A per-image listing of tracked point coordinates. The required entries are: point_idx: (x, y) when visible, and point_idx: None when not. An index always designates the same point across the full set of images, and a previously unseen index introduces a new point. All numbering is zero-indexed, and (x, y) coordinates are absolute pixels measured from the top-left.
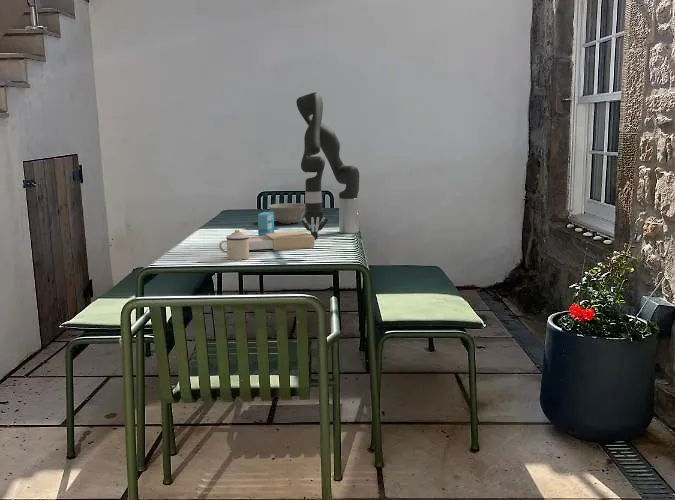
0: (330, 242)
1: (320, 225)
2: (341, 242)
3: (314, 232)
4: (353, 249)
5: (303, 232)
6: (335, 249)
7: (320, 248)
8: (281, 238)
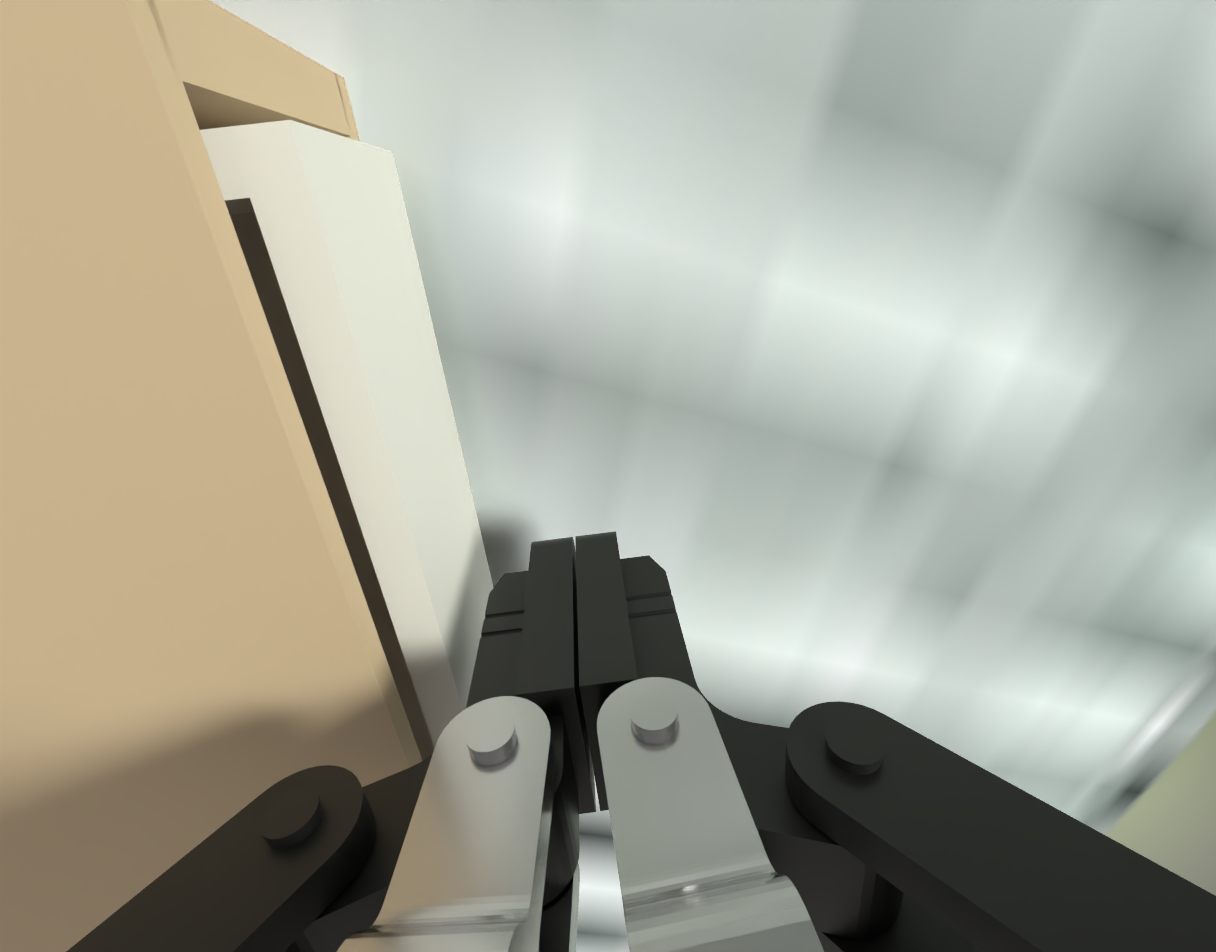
0: (993, 348)
1: (1006, 922)
2: (1193, 413)
3: (582, 807)
4: None
5: (158, 394)
6: None
7: (608, 836)
8: None
